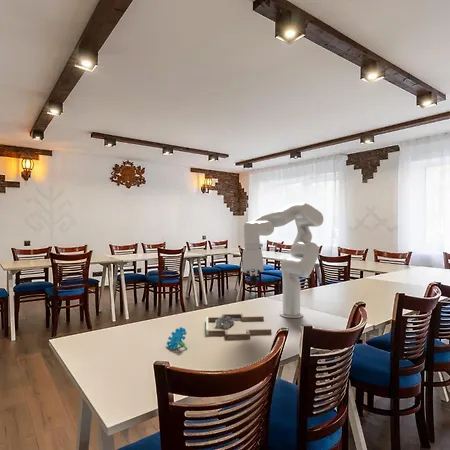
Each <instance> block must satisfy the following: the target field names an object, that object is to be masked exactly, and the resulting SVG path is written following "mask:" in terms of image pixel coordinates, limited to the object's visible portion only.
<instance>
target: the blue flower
mask: <svg viewBox="0 0 450 450" xmlns="http://www.w3.org/2000/svg"><path fill="white" fill-rule="evenodd" d="M186 335H187V331H186V328H185V327H181V326H180V327H179V328H175V331H172V332H171V336H168V338H167V340H168V341H167V342H166V345H167V346H166V347H167V348H168V349H170V350H174V348H175V349H177V348H178V347H179V346H180V347H181V348H184V349H185V350H188V347H187V346H186V344H185V342H184V341H185V339H186V337H185V336H186ZM178 345H179V346H178Z"/></svg>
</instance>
